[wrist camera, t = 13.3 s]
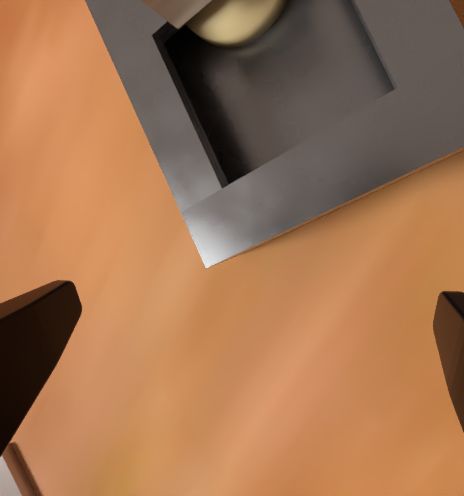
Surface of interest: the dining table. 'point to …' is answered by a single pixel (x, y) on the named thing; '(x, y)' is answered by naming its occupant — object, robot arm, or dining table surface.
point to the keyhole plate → (290, 109)
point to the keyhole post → (221, 18)
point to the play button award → (13, 476)
